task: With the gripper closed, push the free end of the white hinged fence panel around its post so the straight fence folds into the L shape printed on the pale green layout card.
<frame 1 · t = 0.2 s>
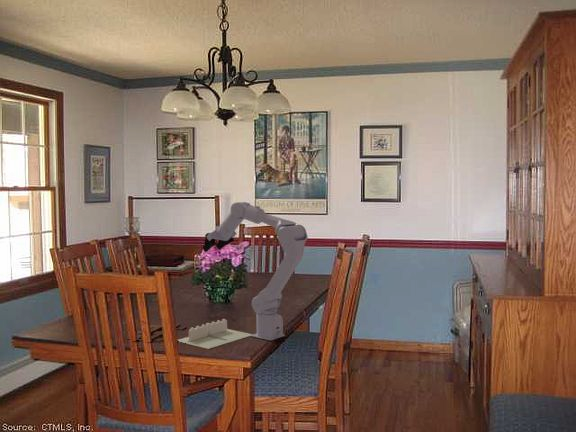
hand: (211, 249, 228), 31 cm above the table, tool tilted 45°, fingers open, 7 cm apart
folding fence panel: (218, 326, 217), point 3 cm above the table, hinge at 0.0°
decorative fence: (156, 335, 218), on the table
fence post and fixed panel: (208, 336, 213), resting on layout card
layout card: (215, 338, 211), on the table
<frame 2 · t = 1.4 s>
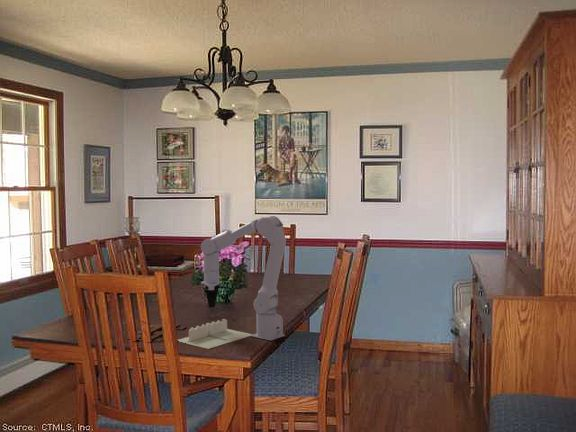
hand: (212, 305, 220), 10 cm above the table, tool pointing down, fingers open, 5 cm apart
nothing on the table moved.
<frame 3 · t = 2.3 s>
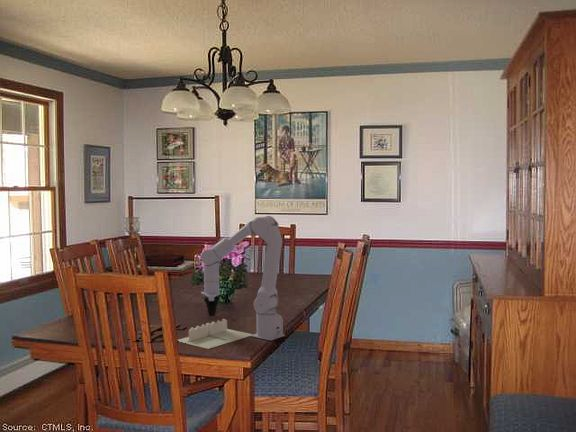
hand: (212, 316, 220), 6 cm above the table, tool pointing down, fingers closed
nothing on the table moved.
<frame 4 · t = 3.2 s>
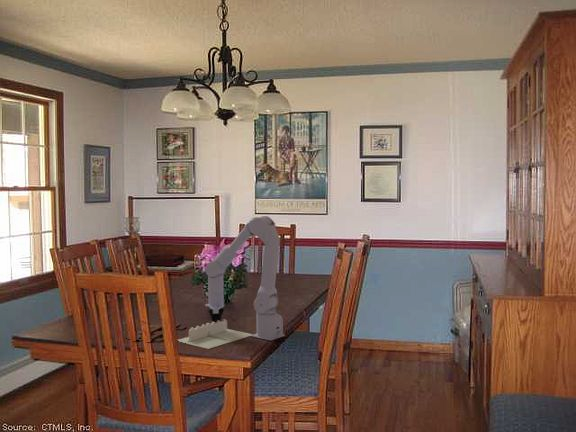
hand: (216, 328, 219), 1 cm above the table, tool pointing down, fingers closed
folding fence panel: (218, 326, 217), point 3 cm above the table, hinge at 0.2°, touching gripper
everything else where it was.
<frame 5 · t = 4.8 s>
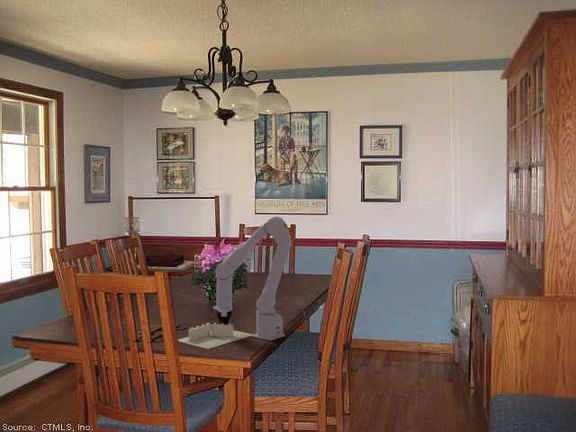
hand: (224, 331, 214), 2 cm above the table, tool pointing down, fingers closed, pressing on folding fence panel
folding fence panel: (222, 329, 213), point 3 cm above the table, hinge at 55.0°, touching gripper
everything else where it was.
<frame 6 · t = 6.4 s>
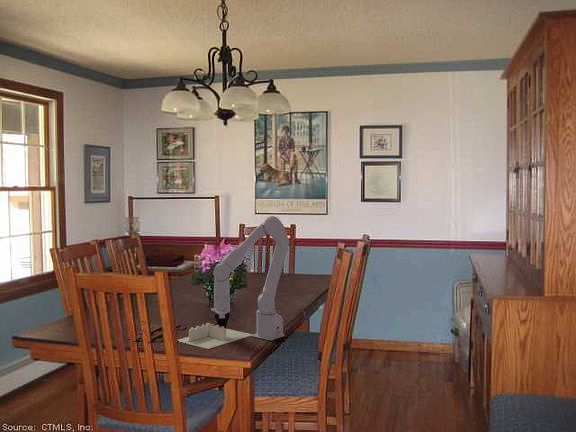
hand: (222, 333, 212), 1 cm above the table, tool pointing down, fingers closed
folding fence panel: (217, 331, 209), point 3 cm above the table, hinge at 93.4°, touching gripper
everything else where it was.
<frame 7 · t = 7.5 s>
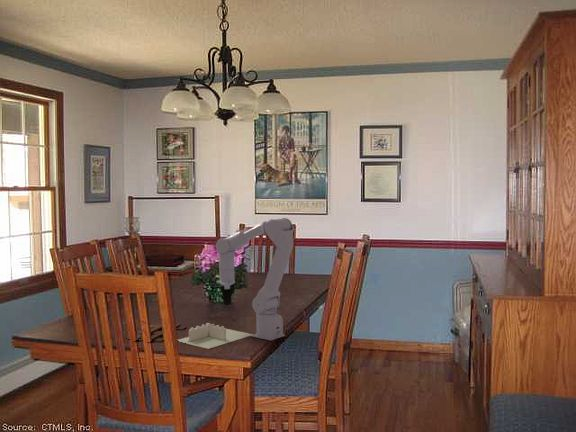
hand: (227, 304, 222), 10 cm above the table, tool pointing down, fingers closed
folding fence panel: (217, 331, 209), point 3 cm above the table, hinge at 93.5°
everything else where it was.
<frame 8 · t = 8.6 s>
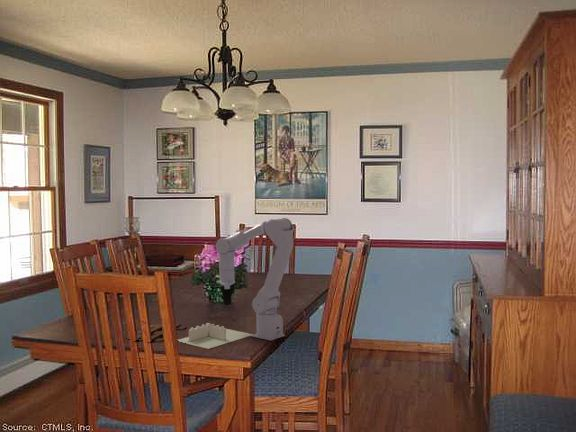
hand: (227, 304, 222), 10 cm above the table, tool pointing down, fingers closed
nothing on the table moved.
at the end: folding fence panel at +94° (first picture: +0°) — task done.
